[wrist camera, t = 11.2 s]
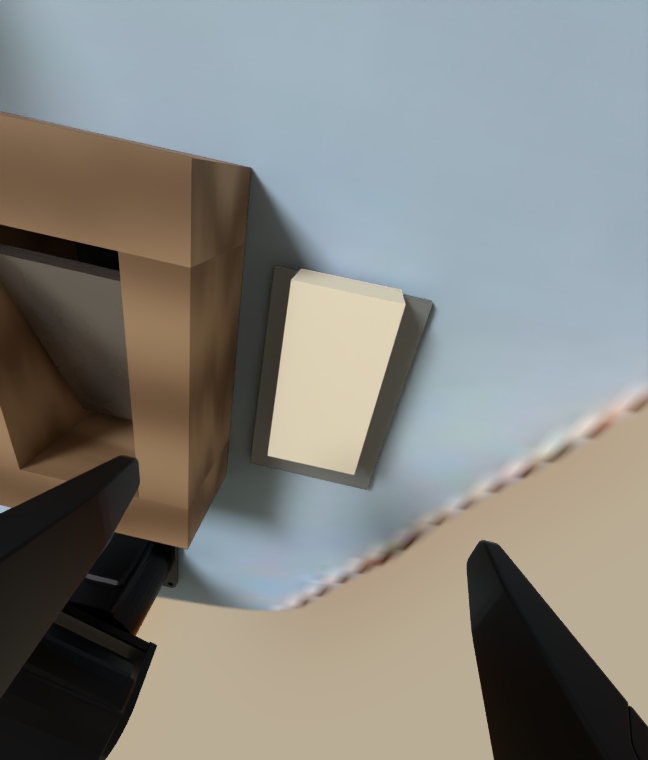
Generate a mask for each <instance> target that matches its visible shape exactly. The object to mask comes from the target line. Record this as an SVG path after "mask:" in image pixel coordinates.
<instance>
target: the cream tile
mask: <svg viewBox="0 0 648 760" xmlns="http://www.w3.org/2000/svg"><path fill="white" fill-rule="evenodd" d="M405 305H406V304H405V300H404V297H403V293H402V290H401V289H396V288H391V287H386V286H382V285H377V284H372V283H368V282H363V281H358V280H354V279H349V278H344V277H340V276H335V275H330V274H325V273H321V272H316V271H311V270H307V269H302V268H301V269H300V270H299V272H298V273H297V274H296V275H295V276H294V277H293V278H292V279H291V285H290V292H289V300H288V307H287V314H286V322H285V329H284V337H283V344H282V352H281V359H280V366H279V374H278V381H277V389H276V396H275V403H274V411H273V418H272V426H271V433H270V441H269V448H268V455H267V456H271V457H275V458H280V459H284V460H289V461H293V462H298V463H302V464H307V465H311V466H316V467H320V468H325V469H329V470H334V471H338V472H343V473H347V474H352V475H354V474H355V471H356V467H357V464H358V461H359V457H360V454H361V451H362V447H363V444H364V441H365V437H366V434H367V431H368V427H369V424H370V421H371V418H372V414H373V411H374V408H375V404H376V401H377V398H378V394H379V391H380V388H381V384H382V381H383V378H384V374H385V371H386V368H387V364H388V361H389V358H390V354H391V351H392V348H393V345H394V341H395V338H396V335H397V331H398V328H399V325H400V321H401V318H402V315H403V311H404V308H405Z"/></svg>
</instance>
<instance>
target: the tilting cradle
mask: <svg viewBox="0 0 648 760" xmlns="http://www.w3.org/2000/svg"><path fill="white" fill-rule="evenodd" d="M0 279H1V281H2V282H3V284H4V286H5V287H6V289H7V290H8V292H9V293H10V295H11V296H12V298H13V300H14V301H15V303H16V304H17V306H18V307H19V309H20V310H21V312H22V314H23V315H24V317H25V318H26V320H27V321H28V323H29V324H30V326H31V328H32V329H33V331H34V332H35V334H36V335H37V337H38V338H39V340H40V342H41V343H42V345H43V346H44V348H45V349H46V351H47V352H48V354H49V356H50V357H51V359H52V360H53V362H54V363H55V365H56V366H57V368H58V370H59V371H60V373H61V374H62V376H63V377H64V379H65V380H66V382H67V384H68V385H69V387H70V388H71V390H72V391H73V393H74V394H75V396H76V398H77V399H78V401H79V402H80V404H81V405H82V407H83V408H84V409H88V410H92V411H96V412H101V413H105V414H109V415H113V416H118V417H122V418H126V419H131V420H132V408H131V396H130V385H129V373H128V361H127V350H126V338H125V326H124V315H123V303H122V291H121V280H120V271H118V270H114V269H109V268H105V267H101V266H96V265H92V264H87V263H83V262H79V261H74V260H70V259H66V258H61V257H57V256H52V255H48V254H44V253H39V252H35V251H31V250H26V249H22V248H17V247H13V246H9V245H4V244H0Z"/></svg>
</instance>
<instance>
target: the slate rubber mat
mask: <svg viewBox="0 0 648 760" xmlns="http://www.w3.org/2000/svg"><path fill="white" fill-rule="evenodd" d="M298 272H299V270H294V269H290V268H286V267H281V266H275V267H274V274H273V282H272V290H271V298H270V306H269V314H268V323H267V331H266V339H265V347H264V355H263V363H262V371H261V379H260V388H259V396H258V404H257V412H256V420H255V428H254V436H253V444H252V453H251V461H250V463H254V464H258V465H262V466H267V467H271V468H275V469H279V470H284V471H288V472H292V473H297V474H301V475H305V476H309V477H314V478H318V479H322V480H326V481H331V482H335V483H339V484H344V485H348V486H352V487H356V488H361V489H365V490H367V488H368V485H369V482H370V479H371V477H372V474H373V471H374V468H375V465H376V463H377V460H378V457H379V454H380V451H381V448H382V446H383V443H384V440H385V437H386V434H387V431H388V429H389V426H390V423H391V420H392V417H393V414H394V412H395V409H396V406H397V403H398V400H399V398H400V395H401V392H402V389H403V386H404V383H405V381H406V378H407V375H408V372H409V369H410V366H411V364H412V361H413V358H414V355H415V352H416V350H417V347H418V344H419V341H420V338H421V335H422V333H423V330H424V327H425V324H426V321H427V318H428V316H429V313H430V310H431V307H432V304H433V303H432V301H431V300H426V299H422V298H418V297H413V296H409V295H404V294H403V297H404V300H405V304H406V305H405V308H404V311H403V315H402V318H401V321H400V325H399V328H398V331H397V335H396V338H395V341H394V345H393V348H392V351H391V354H390V358H389V361H388V364H387V368H386V371H385V374H384V378H383V381H382V384H381V388H380V391H379V394H378V398H377V401H376V404H375V408H374V411H373V414H372V418H371V421H370V424H369V427H368V431H367V434H366V437H365V441H364V444H363V447H362V451H361V454H360V457H359V461H358V464H357V467H356V471H355V474H354V475H352V474H347V473H343V472H338V471H334V470H329V469H325V468H320V467H316V466H311V465H307V464H302V463H298V462H293V461H289V460H284V459H280V458H275V457H271V456H267V455H268V448H269V441H270V433H271V426H272V418H273V411H274V403H275V396H276V389H277V381H278V374H279V366H280V359H281V352H282V344H283V337H284V329H285V322H286V314H287V307H288V300H289V292H290V285H291V279H292V278H293V277H294V276H295V275H296V274H297V273H298Z"/></svg>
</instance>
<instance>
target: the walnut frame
mask: <svg viewBox="0 0 648 760" xmlns="http://www.w3.org/2000/svg"><path fill="white" fill-rule="evenodd" d="M250 178H251V168H250V167H245V166H241V165H236V164H232V163H227V162H223V161H219V160H214V159H210V158H205V157H201V156H196V155H192V154H187V153H183V152H178V151H174V150H170V149H165V148H161V147H156V146H152V145H147V144H143V143H138V142H134V141H129V140H125V139H121V138H116V137H112V136H107V135H103V134H98V133H94V132H89V131H85V130H80V129H76V128H71V127H67V126H63V125H58V124H54V123H49V122H45V121H40V120H36V119H31V118H27V117H22V116H18V115H14V114H9V113H5V112H0V244H4V245H9V246H13V247H17V248H22V249H26V250H31V251H35V252H39V253H44V254H48V255H52V256H57V257H61V258H66V259H70V260H74V261H78V257H77V250H76V243H75V241H76V242H80V243H84V244H89V245H93V246H97V247H102V248H106V249H111V250H115V251H118V256H119V268H120V280H121V291H122V303H123V315H124V326H125V338H126V350H127V361H128V373H129V385H130V396H131V408H132V420H131V419H126V418H122V417H118V416H113V415H109V414H105V413H101V412H96V411H92V410H88V409H84V408H83V407H82V405H81V404H80V402H79V401H78V399H77V398H76V396H75V394H74V393H73V391H72V390H71V388H70V387H69V385H68V384H67V382H66V380H65V379H64V377H63V376H62V374H61V373H60V371H59V370H58V368H57V366H56V365H55V363H54V362H53V360H52V359H51V357H50V356H49V354H48V352H47V351H46V349H45V348H44V346H43V345H42V343H41V342H40V340H39V338H38V337H37V335H36V334H35V332H34V331H33V329H32V328H31V326H30V324H29V323H28V321H27V320H26V318H25V317H24V315H23V314H22V312H21V310H20V309H19V307H18V306H17V304H16V303H15V301H14V300H13V298H12V296H11V295H10V293H9V292H8V290H7V289H6V287H5V286H4V284H3V282H2V281H1V279H0V505H3V506H7V507H11V508H13V507H15V506H17V505H19V504H21V503H23V502H25V501H27V500H29V499H31V498H33V497H35V496H37V495H39V494H41V493H43V492H46V491H48V490H50V489H52V488H54V487H56V486H58V485H60V484H62V483H64V482H66V481H68V480H70V479H72V478H74V477H76V476H78V475H80V474H82V473H84V472H87V471H89V470H91V469H93V468H95V467H97V466H99V465H101V464H103V463H105V462H107V461H109V460H111V459H113V458H115V457H117V456H120V455H126V456H130V457H134V458H137V460H138V462H139V472H140V485H139V488H138V490H137V492H136V494H135V495H134V497H133V499H132V501H131V503H130V504H129V506H128V508H127V510H126V512H125V513H124V515H123V517H122V519H121V521H120V522H119V524H118V526H117V528H116V530H115V531H114V532H116V533H121V534H125V535H129V536H133V537H137V538H142V539H146V540H150V541H154V542H159V543H163V544H167V545H171V546H175V547H180V548H184V549H188V548H189V546H190V544H191V542H192V540H193V538H194V536H195V534H196V532H197V530H198V528H199V526H200V524H201V522H202V520H203V518H204V516H205V514H206V512H207V511H208V509H209V507H210V505H211V503H212V501H213V499H214V497H215V495H216V493H217V491H218V489H219V487H220V485H221V483H222V481H223V479H224V477H225V475H226V473H227V461H228V449H229V436H230V424H231V412H232V400H233V387H234V375H235V363H236V350H237V338H238V326H239V313H240V301H241V289H242V276H243V264H244V252H245V239H246V227H247V215H248V203H249V190H250Z"/></svg>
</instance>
